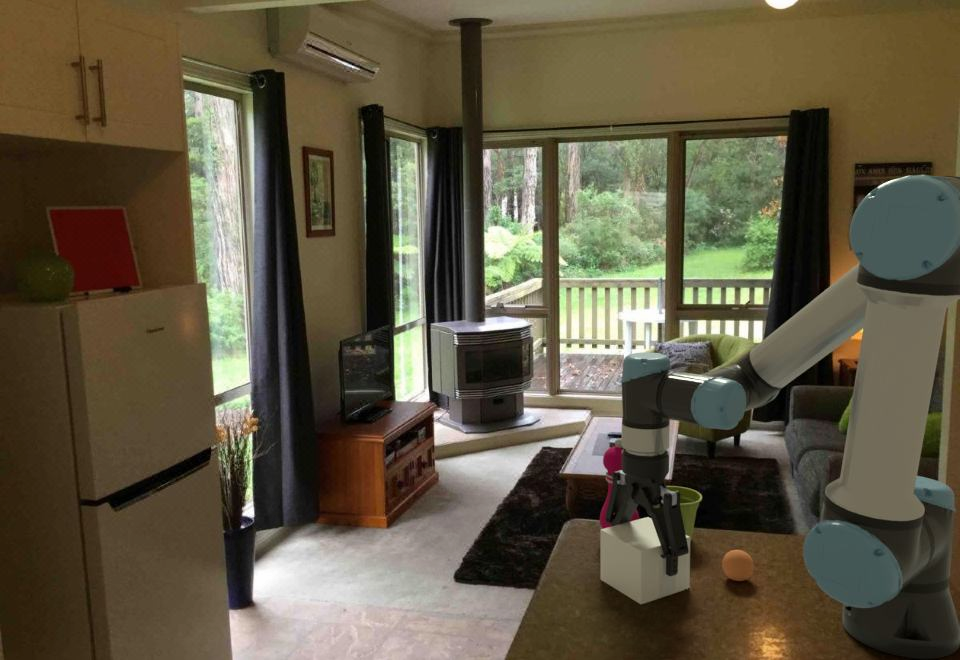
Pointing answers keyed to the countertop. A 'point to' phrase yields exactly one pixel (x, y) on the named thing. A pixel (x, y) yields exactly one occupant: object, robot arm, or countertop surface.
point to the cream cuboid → (637, 560)
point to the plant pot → (687, 506)
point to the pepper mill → (612, 464)
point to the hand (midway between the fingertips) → (644, 579)
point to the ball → (738, 565)
